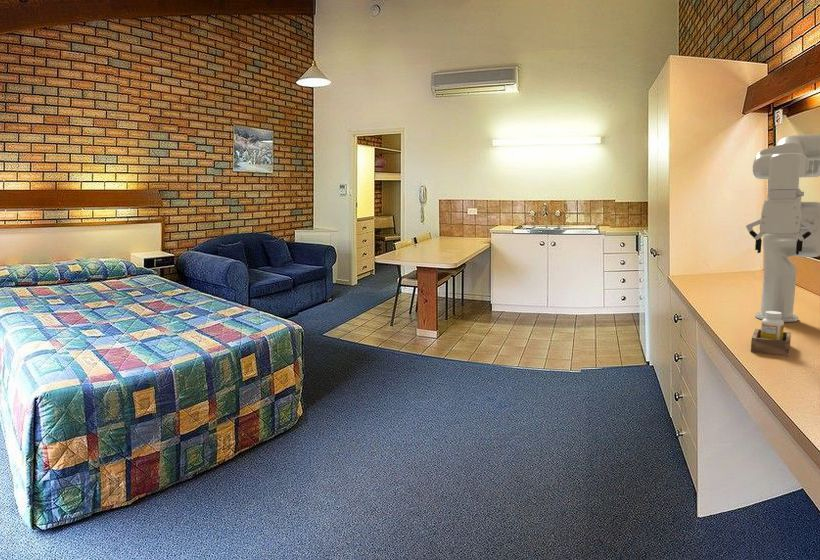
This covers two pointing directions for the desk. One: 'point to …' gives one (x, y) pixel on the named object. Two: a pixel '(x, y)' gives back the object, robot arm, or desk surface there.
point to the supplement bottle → (772, 326)
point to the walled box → (770, 344)
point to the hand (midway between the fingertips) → (777, 253)
